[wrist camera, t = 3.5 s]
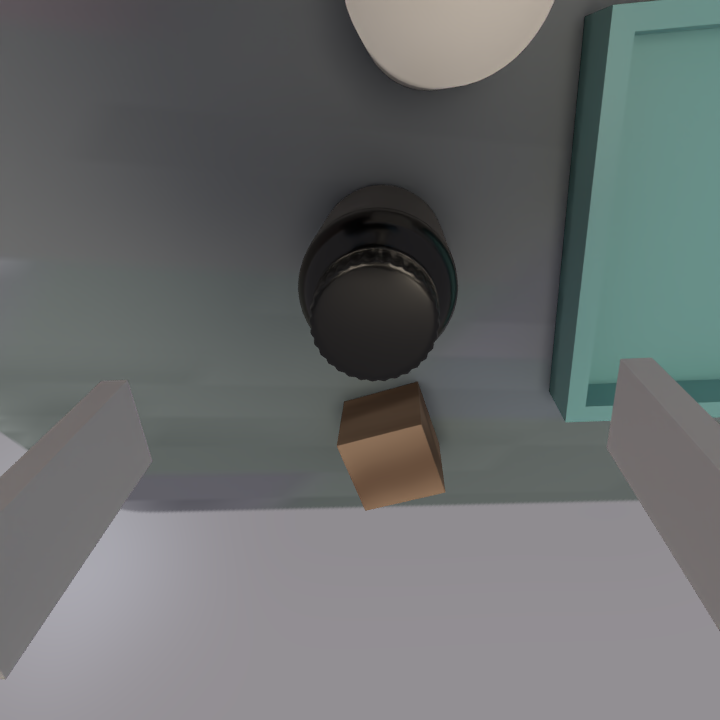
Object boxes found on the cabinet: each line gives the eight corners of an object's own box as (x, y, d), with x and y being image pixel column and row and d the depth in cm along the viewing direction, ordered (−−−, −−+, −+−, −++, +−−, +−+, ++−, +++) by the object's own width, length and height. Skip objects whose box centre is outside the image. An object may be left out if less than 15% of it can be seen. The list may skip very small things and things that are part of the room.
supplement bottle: (467, 251, 30) (509, 339, 19) (375, 323, 32) (365, 438, 21) (388, 152, 27) (385, 188, 17) (296, 237, 30) (241, 316, 19)
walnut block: (344, 401, 34) (336, 446, 30) (417, 381, 34) (421, 424, 29) (369, 460, 37) (365, 510, 32) (438, 442, 36) (445, 492, 31)
